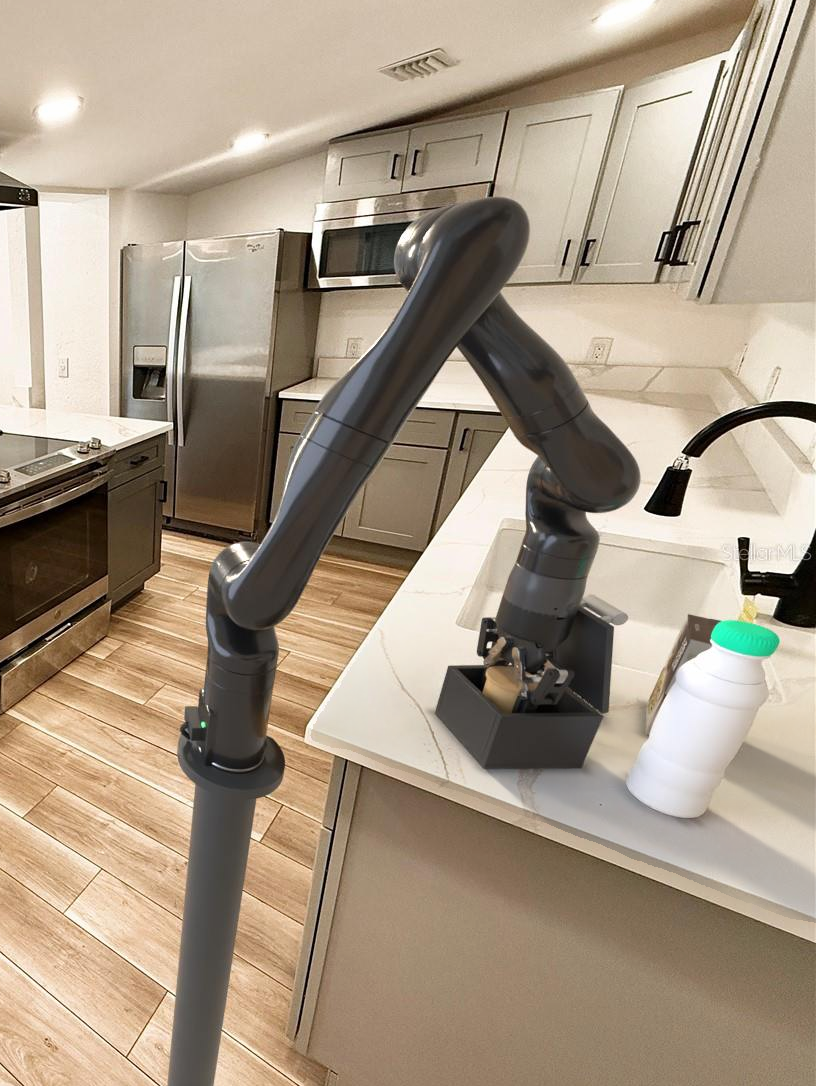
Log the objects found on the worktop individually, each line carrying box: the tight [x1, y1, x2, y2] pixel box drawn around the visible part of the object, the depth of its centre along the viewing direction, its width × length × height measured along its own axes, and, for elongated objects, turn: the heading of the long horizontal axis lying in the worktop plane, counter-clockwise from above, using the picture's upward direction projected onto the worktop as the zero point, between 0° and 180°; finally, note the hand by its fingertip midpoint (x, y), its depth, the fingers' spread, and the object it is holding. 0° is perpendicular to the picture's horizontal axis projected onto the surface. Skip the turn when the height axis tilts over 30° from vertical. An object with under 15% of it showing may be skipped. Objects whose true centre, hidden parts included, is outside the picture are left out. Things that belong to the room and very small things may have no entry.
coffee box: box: [644, 613, 722, 736], centre depth 85 cm, size 9×6×16 cm
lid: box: [556, 593, 629, 715], centre depth 81 cm, size 13×12×5 cm
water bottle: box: [625, 619, 781, 819], centre depth 72 cm, size 7×7×25 cm
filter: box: [482, 666, 535, 713], centre depth 84 cm, size 6×6×5 cm
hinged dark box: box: [434, 664, 604, 770], centre depth 86 cm, size 13×12×9 cm
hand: (504, 704), depth 85 cm, fingers closed on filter, 5 cm apart
